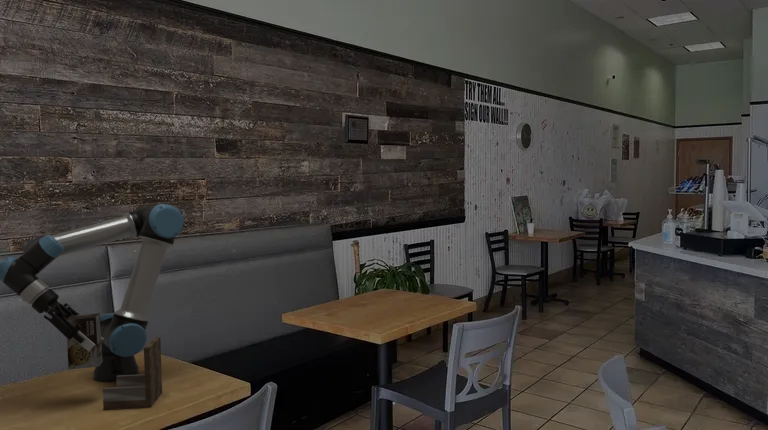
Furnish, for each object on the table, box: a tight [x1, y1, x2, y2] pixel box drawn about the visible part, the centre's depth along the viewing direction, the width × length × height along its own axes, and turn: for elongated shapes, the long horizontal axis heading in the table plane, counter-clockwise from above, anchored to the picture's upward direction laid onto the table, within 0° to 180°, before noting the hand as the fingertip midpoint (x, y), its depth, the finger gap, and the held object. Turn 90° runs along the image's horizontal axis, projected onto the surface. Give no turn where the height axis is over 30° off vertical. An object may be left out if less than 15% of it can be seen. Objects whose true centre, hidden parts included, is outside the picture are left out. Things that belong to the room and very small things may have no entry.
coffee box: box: [66, 312, 103, 371], centre depth 194 cm, size 9×6×16 cm
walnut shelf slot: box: [102, 337, 163, 411], centre depth 194 cm, size 14×14×18 cm
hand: (96, 344), depth 195 cm, fingers closed on coffee box, 7 cm apart
